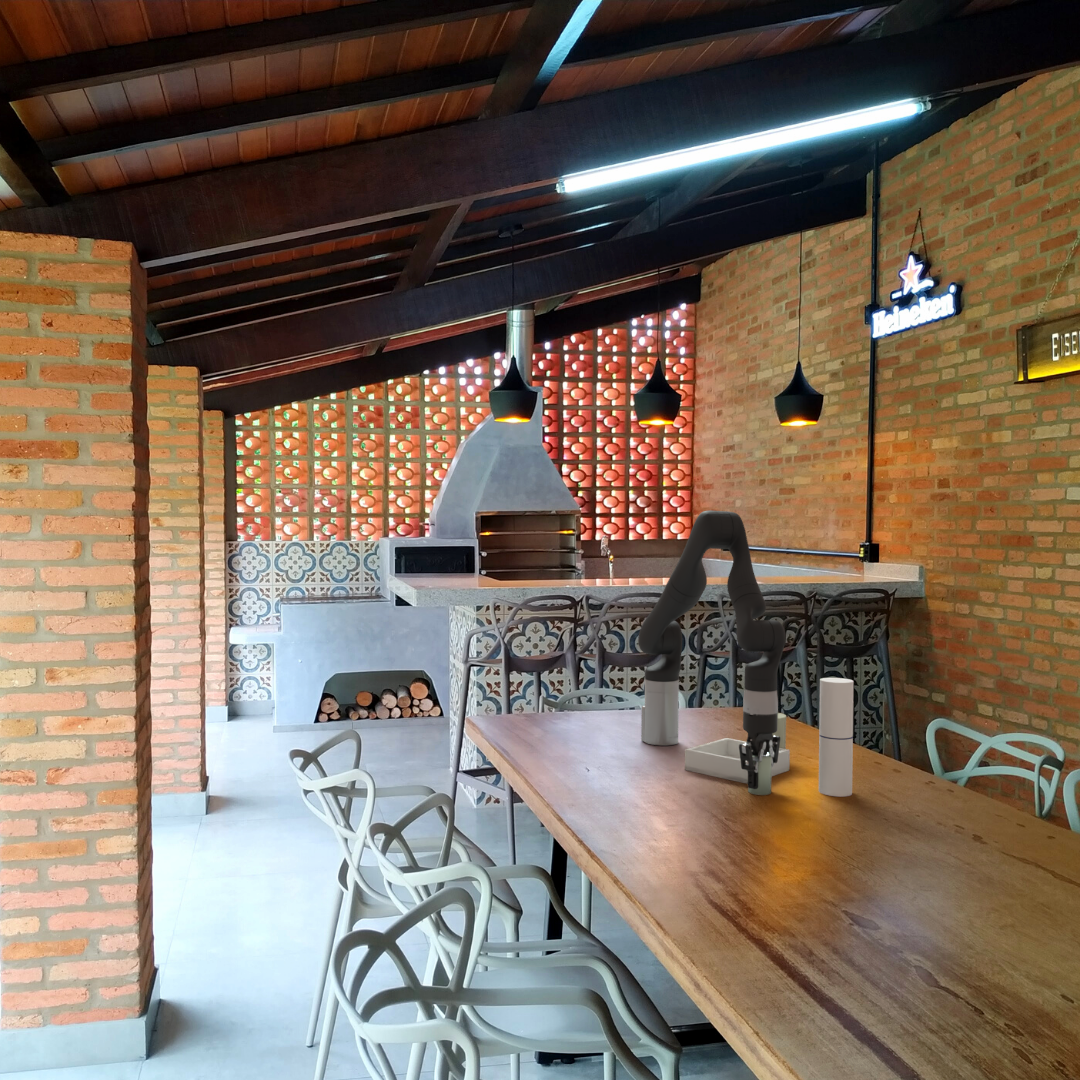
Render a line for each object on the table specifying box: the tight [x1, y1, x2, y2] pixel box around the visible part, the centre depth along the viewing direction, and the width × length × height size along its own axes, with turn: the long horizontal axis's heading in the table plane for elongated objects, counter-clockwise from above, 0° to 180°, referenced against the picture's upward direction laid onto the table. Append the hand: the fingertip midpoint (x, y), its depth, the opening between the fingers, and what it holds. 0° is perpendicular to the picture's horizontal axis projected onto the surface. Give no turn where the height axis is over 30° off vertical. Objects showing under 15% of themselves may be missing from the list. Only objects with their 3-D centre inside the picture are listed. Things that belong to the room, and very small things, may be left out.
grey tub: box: [684, 737, 791, 785], centre depth 234 cm, size 18×18×5 cm
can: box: [772, 712, 787, 749], centre depth 244 cm, size 9×9×12 cm
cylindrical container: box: [818, 677, 854, 798], centre depth 215 cm, size 7×7×25 cm
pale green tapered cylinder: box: [747, 755, 772, 796], centre depth 215 cm, size 5×5×8 cm
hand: (759, 785), depth 215 cm, fingers closed on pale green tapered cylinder, 5 cm apart
